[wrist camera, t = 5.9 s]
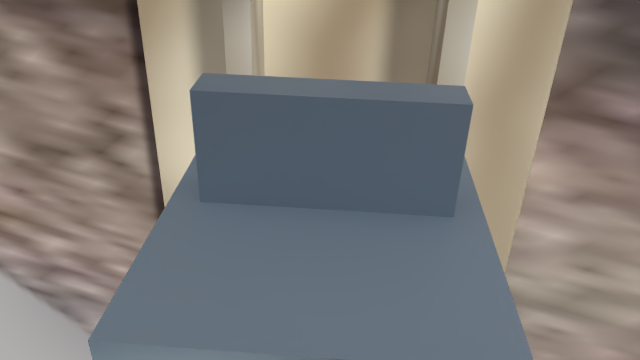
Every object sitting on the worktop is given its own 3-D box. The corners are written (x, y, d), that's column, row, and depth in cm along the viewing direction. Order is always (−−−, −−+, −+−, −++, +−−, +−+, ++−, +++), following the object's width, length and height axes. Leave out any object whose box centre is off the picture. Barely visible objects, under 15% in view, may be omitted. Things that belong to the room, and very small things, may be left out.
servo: (465, 31, 9) (585, 231, 4) (406, 405, 13) (429, 708, 9) (217, 21, 9) (51, 199, 4) (242, 393, 14) (175, 681, 9)
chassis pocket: (606, -185, 16) (659, -195, 13) (498, 260, 24) (517, 315, 21) (123, -199, 16) (72, -211, 14) (177, 239, 24) (152, 289, 22)
